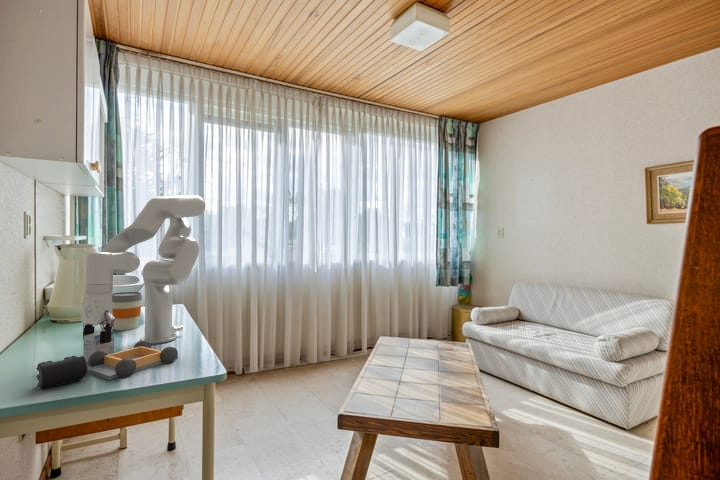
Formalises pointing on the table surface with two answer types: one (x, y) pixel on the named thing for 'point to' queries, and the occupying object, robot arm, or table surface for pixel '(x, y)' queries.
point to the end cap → (61, 371)
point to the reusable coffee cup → (126, 309)
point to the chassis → (129, 360)
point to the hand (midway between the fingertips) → (96, 340)
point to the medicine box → (96, 345)
